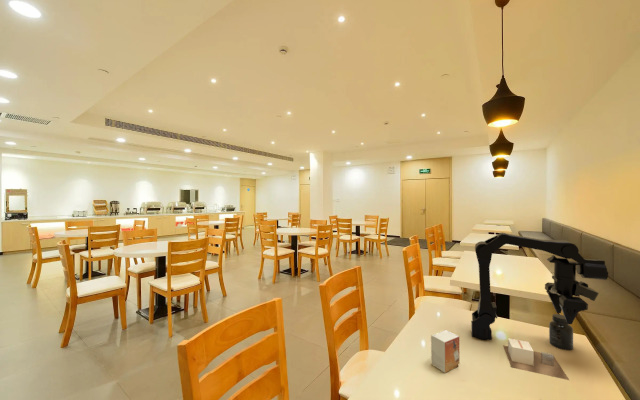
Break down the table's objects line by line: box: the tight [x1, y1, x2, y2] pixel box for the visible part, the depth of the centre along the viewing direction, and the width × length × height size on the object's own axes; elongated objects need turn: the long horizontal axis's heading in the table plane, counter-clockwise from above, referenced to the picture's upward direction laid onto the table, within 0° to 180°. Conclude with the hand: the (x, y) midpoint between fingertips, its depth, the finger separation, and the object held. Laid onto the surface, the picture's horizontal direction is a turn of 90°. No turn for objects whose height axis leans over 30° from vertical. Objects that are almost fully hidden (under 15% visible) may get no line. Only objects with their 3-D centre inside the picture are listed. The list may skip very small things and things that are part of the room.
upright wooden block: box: [540, 351, 555, 366], centre depth 89 cm, size 3×1×4 cm, turn 64°
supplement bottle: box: [548, 313, 574, 351], centre depth 100 cm, size 7×7×12 cm
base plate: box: [502, 345, 570, 381], centre depth 91 cm, size 15×14×1 cm
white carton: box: [507, 337, 534, 366], centre depth 93 cm, size 6×6×5 cm
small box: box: [430, 329, 461, 374], centre depth 91 cm, size 8×6×10 cm
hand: (563, 318), depth 95 cm, fingers open, 9 cm apart
